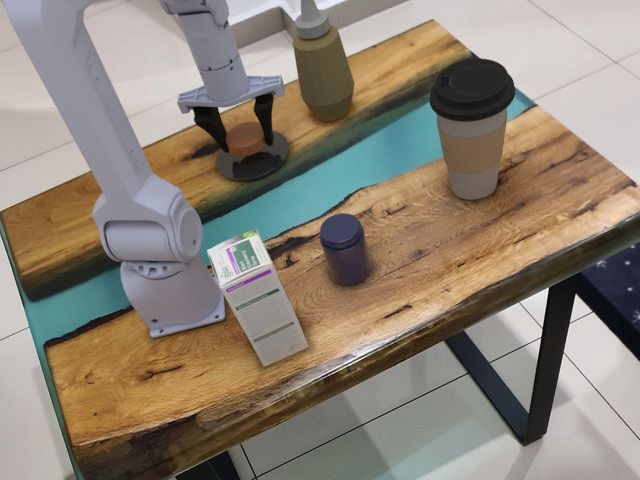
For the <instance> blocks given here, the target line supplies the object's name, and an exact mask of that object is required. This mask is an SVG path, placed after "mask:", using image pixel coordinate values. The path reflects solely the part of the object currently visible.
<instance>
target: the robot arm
mask: <svg viewBox="0 0 640 480" xmlns="http://www.w3.org/2000/svg"><path fill="white" fill-rule="evenodd" d="M0 1H1V2H2V5H3V6H4V8H5V11H6V15H7V17H8V20H9V22H10V24H11V27H12V29H13V31H14V33H15V34H16V36H17V38H18V39H19V41H20V44H21V45H22V47H23V49H24V51H25V53H26V55H27V57H28V58H29V60H30V62H31V64H32V66H33V67H34V70H35V71H36V73H37V75H38V76H39V78H40V80H41V82H42V84H43V85H44V87H45V90H46V92H47V93H48V95H49V97H50V98H51V100H52V102H53V104H54V106H55V107H56V109H57V111H58V113H59V115H60V116H61V119H62V120H63V122H64V124H65V126H66V127H67V129H68V131H69V133H70V135H71V137H72V139H73V140H74V142H75V144H76V146H77V148H78V150H79V151H80V153H81V155H82V157H83V158H84V160H85V162H86V164H87V166H88V168H89V170H90V172H91V173H92V175H93V178H94V179H95V181H96V182H97V184H98V186H99V188H100V190H101V192H102V193H101V194H100V195H99V196H98V198H97V200H96V201H95V203H94V205H93V209H92V212H91V217H92V219H93V221H94V223H95V225H96V227H97V230H98V234H99V240H100V243H101V245H102V248H103V250H104V252H105V254H106V255H107V256H108V257H109V259H111V260H113V261H115V262H121V264H120V269H119V271H120V273H119V274H120V281H121V284H122V288H123V291H124V293H125V295H126V298H127V300H128V301H129V304H131V306H132V307H133V309H134V310H135V312H136V313H137V315H138V316H139V317H140V319H141V320H142V321H143V322H144V324H145V326H146V327H147V329H148V330H149V336H150V337H151V338H152V339H157V338H161V337H165V336H168V335H172V334H176V333H179V332H184V331H187V330H192V329H196V328H199V327H203V326H206V325H210V324H215V323H218V322H222V321H224V320H225V319H226V302H225V296H224V294H223V292H222V291H221V289H220V287H219V284H218V282H217V279H216V277H215V275H214V272H211V271H210V269H209V268H208V266H207V264H206V261H204V258H203V257H202V255H201V253H200V251H201V250H202V245H203V241H204V231H203V229H204V228H203V223H202V221H201V218H200V215H199V214H198V212H197V211H196V209H195V208H194V207H193V206H192V205H191V204H190V203H189V202H188V201H187V199H186V197H185V195H184V193H183V191H182V189H181V188H179V187H178V186H176V185H174V184H172V183H171V182H169V181H167V180H166V179H164V178H161V177H159V176H158V175H156V174H155V173H154V172H153V169H152V168H151V165H150V163H149V161H148V159H147V156H146V154H145V152H144V150H143V148H142V146H141V143H140V141H139V139H138V137H137V135H136V133H135V130H134V129H133V126H132V124H131V121H130V120H129V118H128V116H127V113H126V111H125V109H124V107H123V105H122V103H121V100H120V98H119V96H118V94H117V92H116V90H115V87H114V85H113V83H112V81H111V78H110V77H109V75H108V72H107V70H106V68H105V65H104V63H103V61H102V59H101V57H100V55H99V53H98V51H97V48H96V46H95V44H94V42H93V40H92V38H91V35H90V34H89V31H88V29H87V27H86V24H85V22H84V17H85V10H86V9H87V8H88V7H90V6H91V5H92V4H93V3H94V2H96V0H0ZM158 2H159V4H160V6H161V8H162V10H163V11H164V13H166V15H167V16H170V15H172V16H174V15H176V16H177V17H176V18H177V20H178V24H179V25H180V29H181V30H182V34H183V36H184V38H185V41H186V43H187V46H188V48H189V51H190V53H191V55H192V58H193V61H194V63H195V65H196V68H197V70H198V74H199V76H200V78H201V80H202V83H203V85H202V86H199V87H197V88H194V89H192V90H189V91H184V92H180V93H179V94H178V96H177V100H176V103H177V106H178V109H179V111H180V114H181V115H184V114H185V115H186V114H189V113H190V112H191V111H193V115H194V116H193V122H194V123H195V125H196V126H197V127H199V128H201V129H202V130H203V131H204V132H206V134H208V135H209V136H210V137H212V139H213V140H214V141H215V142H216V143H217V144H218V146H219V147H220V148H221V150H222V149H223V151H224V152H225V153H229V149H228V146H227V143H226V140H225V139H226V135H227V133H228V132H227V130H226V128H225V125H224V123H223V120H222V117H221V114H220V109H219V108H229V107H230V108H231V107H233V106H237V105H239V104H241V103H244V102H247V101H250V100H254V99H255V100H254V105H253V113H254V115H255V116H256V118H257V120H258V122H259V123H260V124H261V127H262V129H263V133H264V136H265V140H266V143H267V145H268V146H272V145H273V139H274V136H273V131H274V130H273V106H274V98H275V96H276V98H280V97H285V92H286V87H285V82H284V80H283V76H282V75H281V74H280V75H269V76H268V75H247V73H246V70H245V66H244V64H243V60H242V59H241V55H240V51H239V49H238V46H237V43H236V40H235V36H234V34H233V31H232V28H231V25H230V21H229V19H228V18H229V16H230V11H229V5H228V1H227V0H158Z"/></svg>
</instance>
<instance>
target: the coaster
mask: <svg viewBox="0 0 640 480" xmlns="http://www.w3.org/2000/svg"><path fill="white" fill-rule="evenodd" d="M273 136H274V139H273V145H272V146H268V145H267V144H266V145H265V147H264V148H263V149H261V150H260V151H259V152H257V153H255V154H252V155H248V156H236V155H234V154H232V153H231V152H230V151H229V153H225V152H224V151H223V149H222V148H221V150H220V152H219V154H218V156H217V159H216V166H217V170H218V171H219V174H221V176H222V177H224V178H225V179H226V180H228V181H232V182H235V183H236V182H237V183H251V182H255V181H256V182H257V181H259V180H262V179H264V178H267V177H269V176H271V175H272V174H274V173H276V172H277V171H279V169H280V168H282V167H283V166H284V164H285V163H286V161H287V160H288V159H289V155H290V153H291V152H290V151H291V148H290V143H289V141H288V139H287V138H286V137H285V136H284V135H283V134H282V133H280V132H278V131H275V130H273Z"/></svg>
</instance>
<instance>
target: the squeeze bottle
mask: <svg viewBox="0 0 640 480" xmlns="http://www.w3.org/2000/svg"><path fill="white" fill-rule="evenodd" d="M294 26H295V31H296V34H295V36H294V37H293V40H292V46H293V54H294V59H295V66H296V71H297V72H296V73H297V78H298V79H297V80H298V85H299V91H300V96H301V99H302V101H303V103H304V104H305V105H306V107H307V108H308V110H309V111H310V112H311V114H312V115H313V117H314V118H315V119H317V120H318V121H321V122H335V121H337V120H340V119H342V118H344V117H345V116H347V115H348V113H349V112H351V109H352V104H353V96H354V89H355V80H354V76H353V74H352V70H351V66H350V65H349V61H348V58H347V54H346V51H345V49H344V45H343V42H342V39H341V36H340V32H339V30H338V28H337V27H336V26H334V25H333V24H331V22H330V17H329V13H328V12H327V11H326V10H324V9H319V8H318V6H317V4H316V1H315V0H300V14H299V15H298V16H297V17H296V18H295V21H294Z"/></svg>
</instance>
